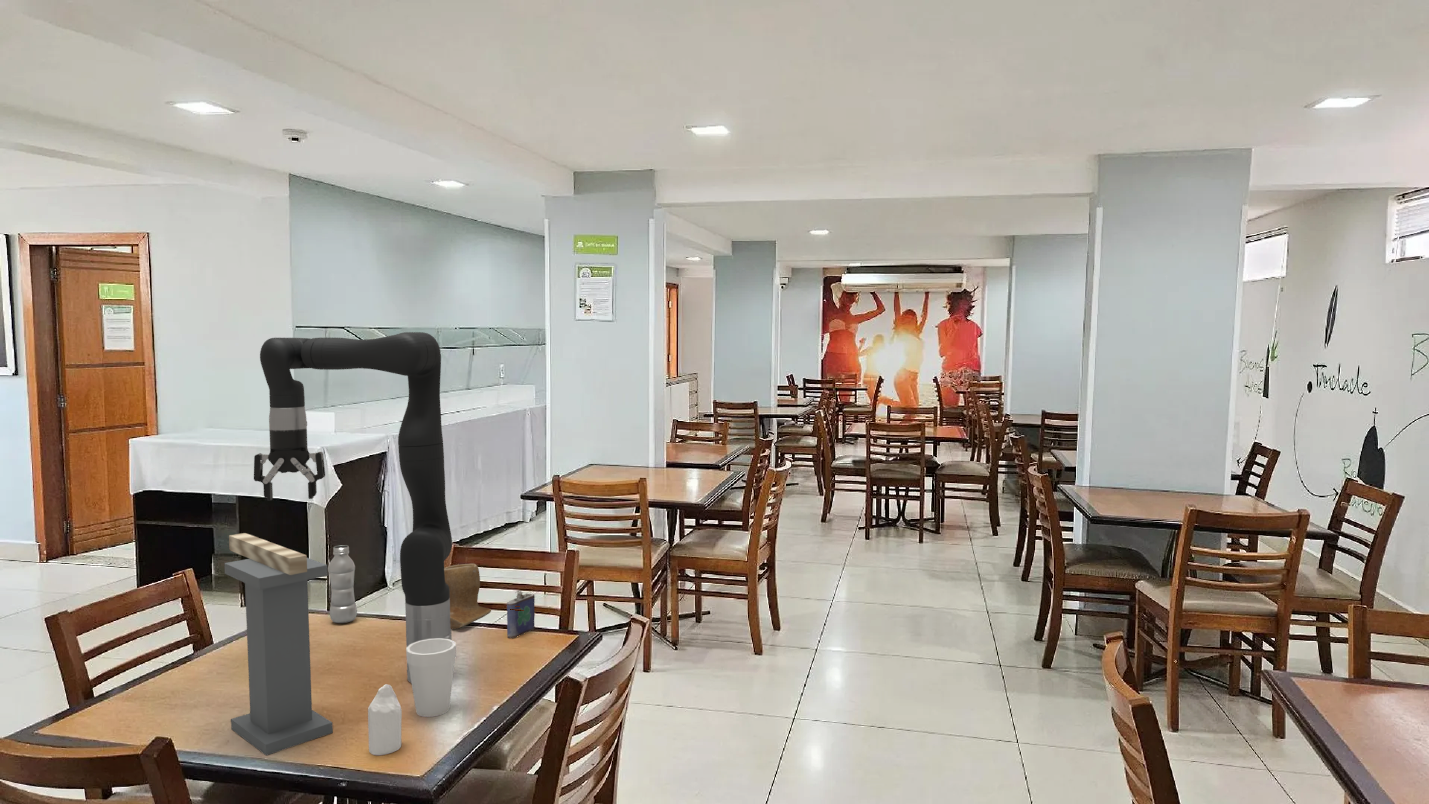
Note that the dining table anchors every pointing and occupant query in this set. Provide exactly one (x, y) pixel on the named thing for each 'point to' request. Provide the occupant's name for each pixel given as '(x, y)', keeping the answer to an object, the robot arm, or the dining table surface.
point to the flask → (520, 615)
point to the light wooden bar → (268, 553)
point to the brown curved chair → (464, 594)
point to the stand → (278, 657)
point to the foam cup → (431, 674)
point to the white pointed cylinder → (384, 722)
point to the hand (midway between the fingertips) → (290, 499)
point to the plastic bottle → (342, 586)
